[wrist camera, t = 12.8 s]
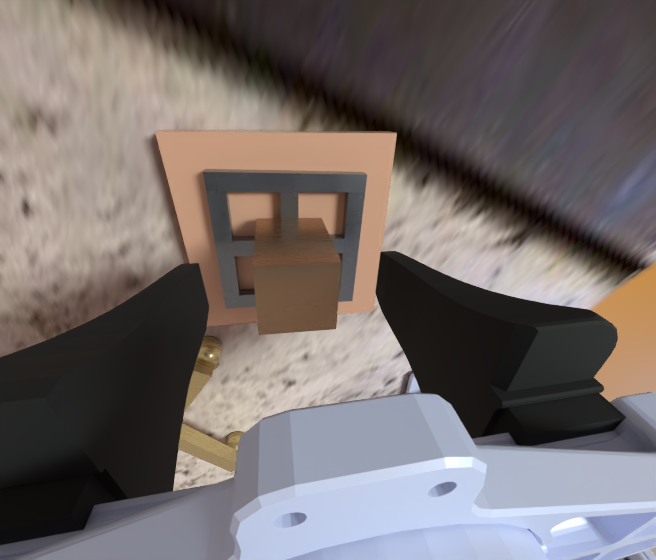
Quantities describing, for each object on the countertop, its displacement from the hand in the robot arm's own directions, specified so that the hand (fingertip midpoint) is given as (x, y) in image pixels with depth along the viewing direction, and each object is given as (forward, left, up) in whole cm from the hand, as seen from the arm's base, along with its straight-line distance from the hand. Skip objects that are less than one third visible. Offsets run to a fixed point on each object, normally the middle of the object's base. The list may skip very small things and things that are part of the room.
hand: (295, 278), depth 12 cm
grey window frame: (0, 0, -4) cm, 4 cm away
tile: (0, 0, -4) cm, 4 cm away
